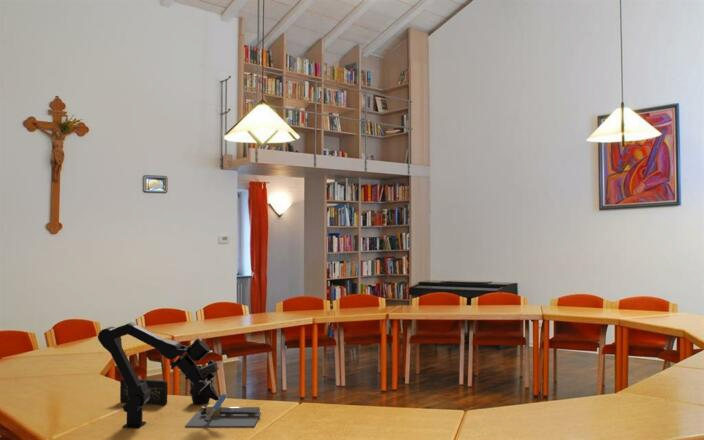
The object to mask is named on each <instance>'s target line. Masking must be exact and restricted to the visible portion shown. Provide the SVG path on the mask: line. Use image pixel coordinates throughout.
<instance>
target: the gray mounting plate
mask: <svg viewBox="0 0 704 440" xmlns="http://www.w3.org/2000/svg"><path fill="white" fill-rule="evenodd" d="M261 415H262V412H261V411H260V414H255V416H254V417H248V414H233V415H232V417H225V414H221V416H220V417H210V418H211V419H210V421H209V422H205V420H204V419H205V417H206V414H204V415H201V414H200V411H197V412H195V413H194V415H193V416H192V417H191V418H190V419H189V420H188V422H187V423H186V424H185V425H184V428H230V429H231V428H238V429H239V428H244V429H245V428H246V429H247V428H250V429H251V428H255V427H256V425H257V423H258V421H259V419H260V417H261Z"/></svg>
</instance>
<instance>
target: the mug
mask: <svg viewBox="0 0 704 440" xmlns="http://www.w3.org/2000/svg"><path fill="white" fill-rule="evenodd" d="M212 380H213V378H212V379H211V380H210V381H212ZM189 382H190V381H189ZM189 385H190V389H191V388H192V387H193V384H192V383H191V382H190V384H189ZM199 392H200V391H199ZM199 392H198V393H199ZM198 393H197V394H196V395H195V396H194V397H193V396H192V395H191V394H190V397H191V401H192V403H193V404H194V405H199V406H201V405H202V406H203V405H206V404H207V405H208V403H209V402H210V400H211V398H208V397H206V396H203V395H200V394H198Z"/></svg>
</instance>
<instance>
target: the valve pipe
mask: <svg viewBox="0 0 704 440" xmlns="http://www.w3.org/2000/svg"><path fill="white" fill-rule="evenodd" d="M214 405H215V403H214V404H213V403H211V404H208V403H207V406H203V405H202V406H201V405H200V410H199V412H200V414H201V415H204V414H206V416H208V415H209V414H210V412H211V411H212V410H213V406H214ZM260 412H261V408H260V406H222V405H221V406H220V407H219V408H218V410H215V412H214V413H213V414H212V416H211V417H220V416H221V414H225V417H232V415H233V414H248V417H254V416H255V414H260Z"/></svg>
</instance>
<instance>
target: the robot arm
mask: <svg viewBox="0 0 704 440" xmlns="http://www.w3.org/2000/svg"><path fill="white" fill-rule="evenodd" d="M126 335H129V336H130V337H132V338H134V339H136V340H139V341H140V342H143V343H144V344H146V345H148V346H150V347H152V348H154V349H155V350H157V352H159V354H160V355H162V356H163V357H164V358H166V359H167V360H170V361H171V360H172V361H171V362H170V363H171V364H170V365H171V366H170V369H171V370H173V369H175V368H176V367H177V368H178V370H179V371H180V372H181V373H182V374H183V375H184V376H185V377H184V379H185V380H186V381H187V380H189V382H191V383H192V384H193V387H192V388H191V387H190V389H189V394H190V396H191V395H192V396H193V397H194V396H195V395H196V394H197V393H198V392H199V391H200V392H199V393H198V394H200V395H203V396H206V397H208V398H210V400H211V399H212V400H214V401H216V402H217V401H218V399H219V398H220V396H219V395H218V393H217V392H216V389H215V387H214V377H216V373H217V372H218V371H219V370H220V369H219V367H218V365H219V364H218V362H217V361H215V360H213V359H211V360H208V361H207V364H206V365H204V366H202V365H201V364H197V363H196V361H197V362H200V361H201V360H202V359H203V358H205V356H207V355H208V354H209V352H211V348H210V347H209V345H208V344H207V343H206V342H204V341H203V340H201V339H200V338H196V339H195V340H194V341H193V342H192V344H190V345H189V346H187V345H183V344H181V342H179V341H176V340H172V339H168V338H163V337H161V336H158V335H157V334H155V333H153V332H151V331H149V330H147V329H145V328H143V327H141V326H139V325H137V324H136V323H135V322H129V323H126V324H124V325H120V326H118V327H117V326H116V327H115V326H109V327H106V328H103V329H101V330H100V331H99V333H98V335H97V339H98V341H99V344H101V346H103V348H104V349H105V350H106V351H108V353H109V354H110V356H111V358H112V359H113V361H114V364H115V365H116V367H117V369H118V371H119V373H120V375H121V377H122V380H123V379H124V381H125V383H126V385H127V393H128V398H129V401H128V402H127V403H124V405H123V406H122V408H123V411H124V413H126V423H125V424H124V425H122V428H130V429H131V428H133V429H134V428H135V429H139V428H141V427H142V426H144V425H146V424H147V421H143V416H144V415H143V409H144V408H143V407H145V405H146V404H145V403H146V402H147V401H148V400H149V398H150V392H149V391H151V390H150V389H149V388H148V386H147V383H146V382H144V383H142V382H141V381H139V380H138V379H139V378H138V376H137V374H136V372H135V370H134V367H133V366H132V364H131V362H130V360H129V358H128V357H127V354H126V352H125V350H124V348H123V344H122V337H123V336H126ZM175 359H176V360H175ZM211 379H212V381H210V380H211Z"/></svg>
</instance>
